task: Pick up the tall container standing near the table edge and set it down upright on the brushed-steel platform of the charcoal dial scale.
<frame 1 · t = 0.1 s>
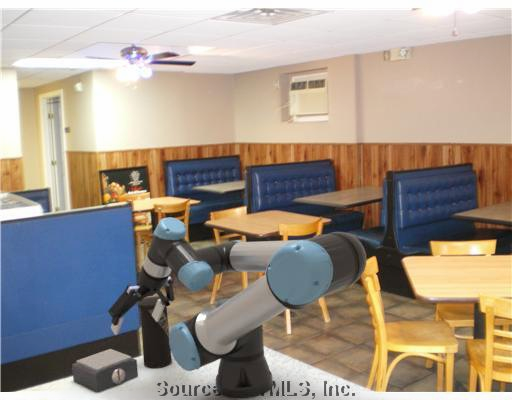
hand: (135, 324, 157), 15 cm above the table, tool tilted 35°, fingers open, 13 cm apart
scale: (105, 378, 159), on the table
container: (157, 363, 168), on the table, touching gripper
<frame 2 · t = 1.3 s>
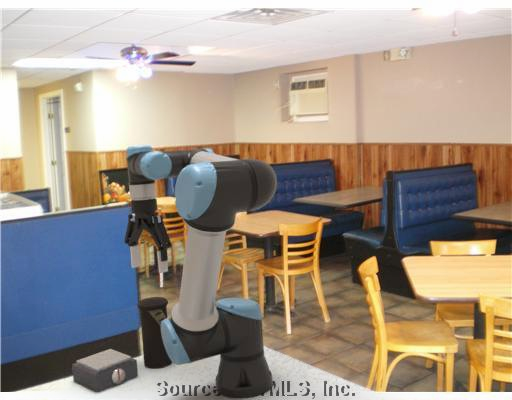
hand: (149, 269, 165), 29 cm above the table, tool pointing down, fingers open, 13 cm apart
container: (158, 364, 168), on the table
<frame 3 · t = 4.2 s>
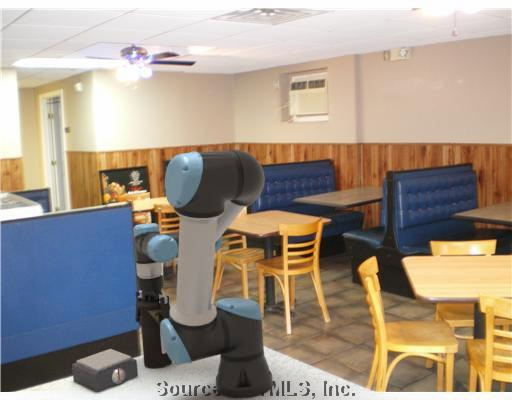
hand: (156, 348, 168), 4 cm above the table, tool pointing down, fingers open, 9 cm apart
container: (158, 364, 168), on the table, touching gripper
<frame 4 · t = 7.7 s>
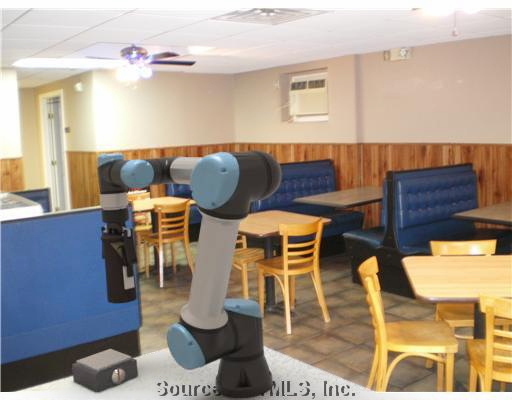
hand: (121, 285, 161), 26 cm above the table, tool pointing down, fingers closed on container, 8 cm apart
container: (122, 300, 161), point 21 cm above the table, touching gripper
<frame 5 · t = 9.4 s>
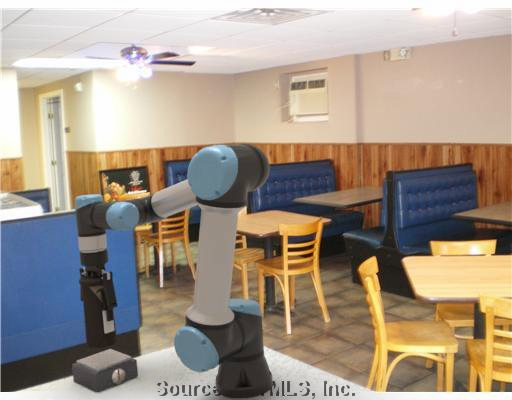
hand: (100, 328, 157), 15 cm above the table, tool pointing down, fingers closed on container, 8 cm apart
container: (101, 344, 158), point 10 cm above the table, touching gripper
when the fingers open (12 cm above the table, at t = 10.9 s): container drops 1 cm, resting on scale.
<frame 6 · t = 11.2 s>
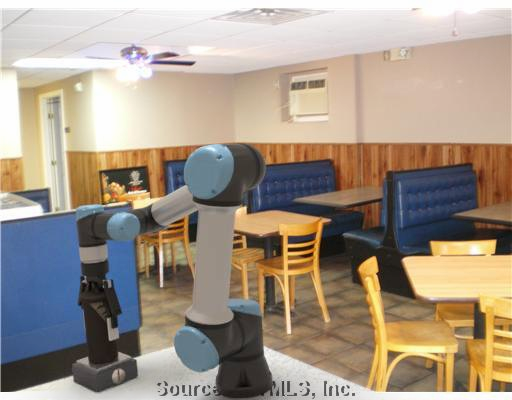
hand: (101, 335, 157), 13 cm above the table, tool pointing down, fingers open, 12 cm apart
container: (103, 358, 158), point 6 cm above the table, touching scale
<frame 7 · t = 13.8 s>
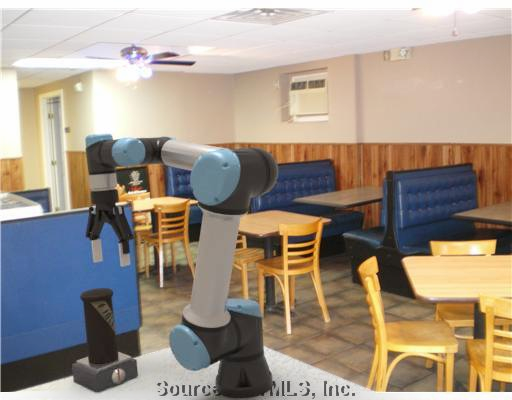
hand: (111, 263, 158), 33 cm above the table, tool pointing down, fingers open, 13 cm apart
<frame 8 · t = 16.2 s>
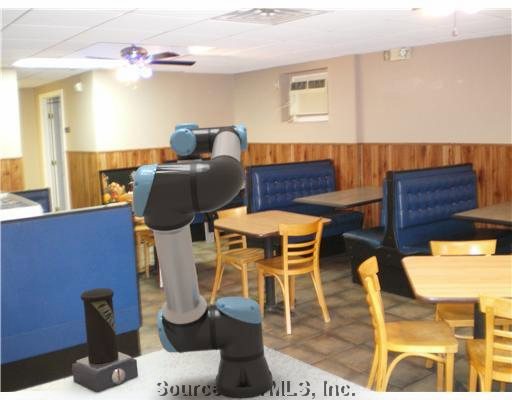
hand: (195, 241, 174), 35 cm above the table, tool pointing down, fingers open, 13 cm apart
nothing on the table moved.
at the end: container inside the target area on the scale (0.1 cm from its centre), point 5.8 cm above the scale's base; container tilted 0°; the gripper is holding nothing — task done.
